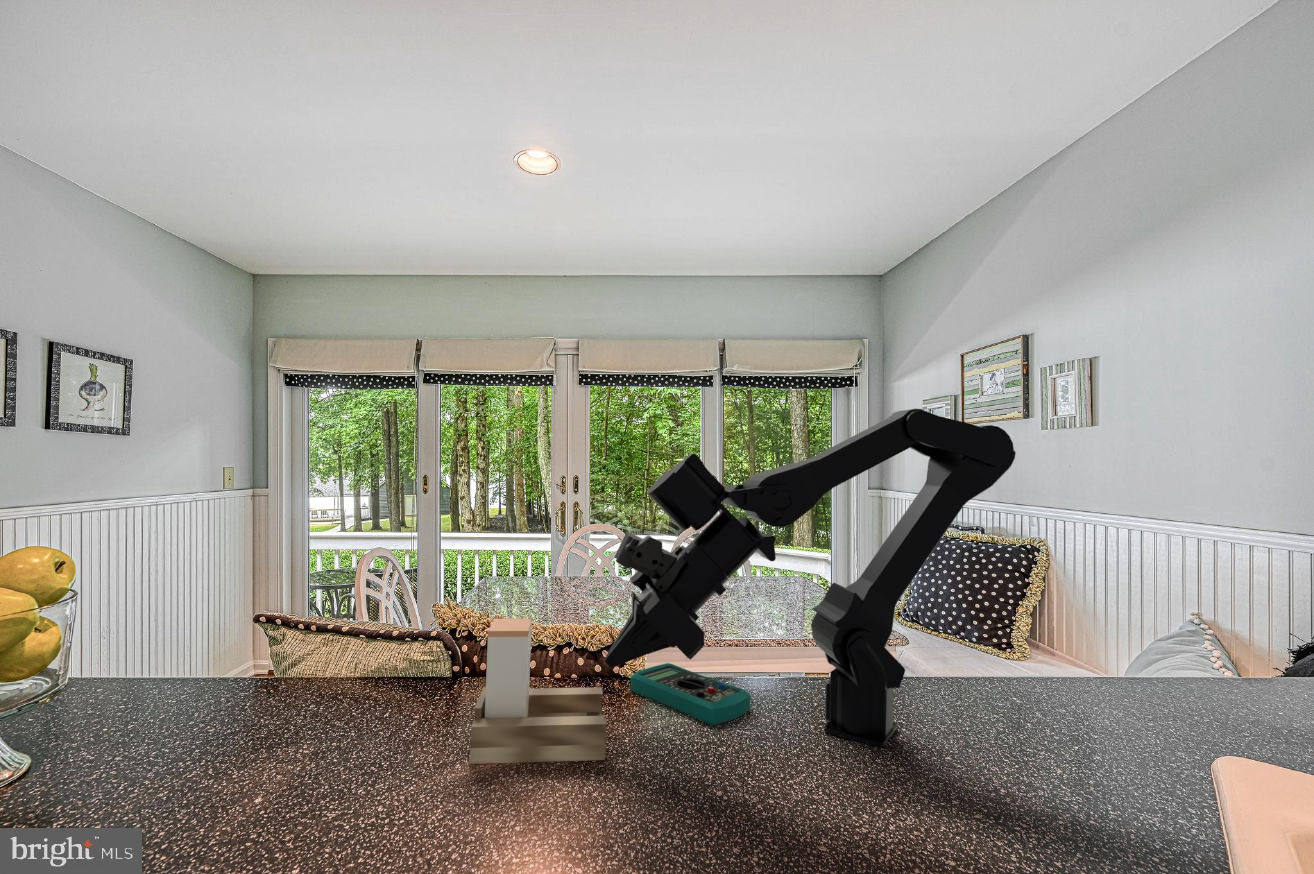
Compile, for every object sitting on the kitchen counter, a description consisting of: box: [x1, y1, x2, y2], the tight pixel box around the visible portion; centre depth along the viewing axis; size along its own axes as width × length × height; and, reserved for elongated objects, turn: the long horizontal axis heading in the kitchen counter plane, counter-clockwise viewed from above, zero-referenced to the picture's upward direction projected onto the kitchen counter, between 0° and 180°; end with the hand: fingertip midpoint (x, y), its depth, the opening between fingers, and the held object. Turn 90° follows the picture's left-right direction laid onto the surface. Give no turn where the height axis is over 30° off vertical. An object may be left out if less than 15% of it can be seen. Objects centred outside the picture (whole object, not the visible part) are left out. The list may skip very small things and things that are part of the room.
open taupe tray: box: [469, 686, 607, 765], centre depth 67 cm, size 13×10×4 cm
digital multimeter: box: [629, 662, 751, 726], centre depth 79 cm, size 7×15×3 cm, turn 44°
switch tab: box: [485, 617, 533, 718], centre depth 66 cm, size 4×5×10 cm
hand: (607, 663), depth 68 cm, fingers closed
